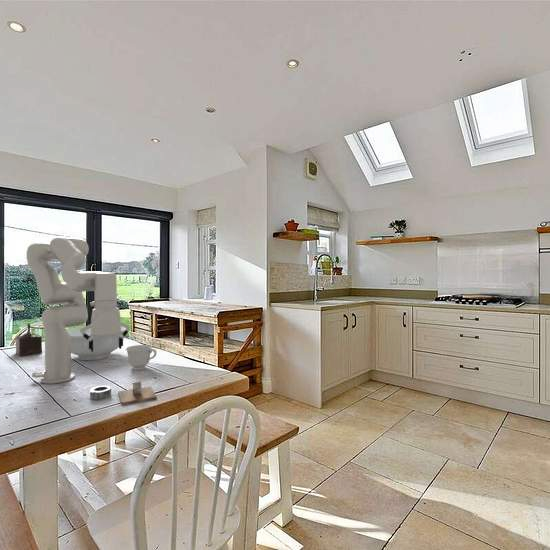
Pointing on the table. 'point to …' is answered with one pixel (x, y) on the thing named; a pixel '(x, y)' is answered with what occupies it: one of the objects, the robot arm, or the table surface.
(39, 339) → the dark boxy spouted shape
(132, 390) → the brown base with peg
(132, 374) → the table surface
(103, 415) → the table surface
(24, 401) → the table surface
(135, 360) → the teacup
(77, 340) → the bowl
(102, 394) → the ring
